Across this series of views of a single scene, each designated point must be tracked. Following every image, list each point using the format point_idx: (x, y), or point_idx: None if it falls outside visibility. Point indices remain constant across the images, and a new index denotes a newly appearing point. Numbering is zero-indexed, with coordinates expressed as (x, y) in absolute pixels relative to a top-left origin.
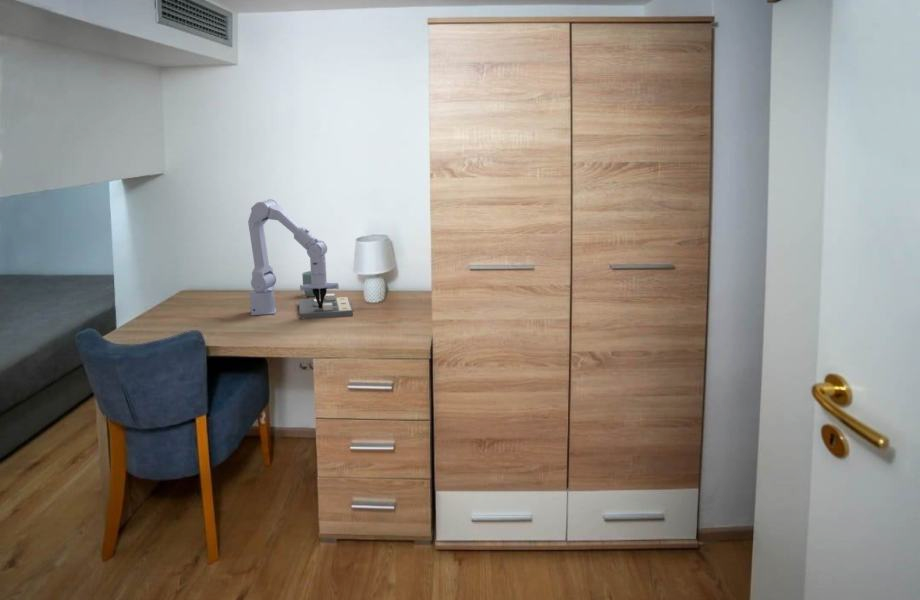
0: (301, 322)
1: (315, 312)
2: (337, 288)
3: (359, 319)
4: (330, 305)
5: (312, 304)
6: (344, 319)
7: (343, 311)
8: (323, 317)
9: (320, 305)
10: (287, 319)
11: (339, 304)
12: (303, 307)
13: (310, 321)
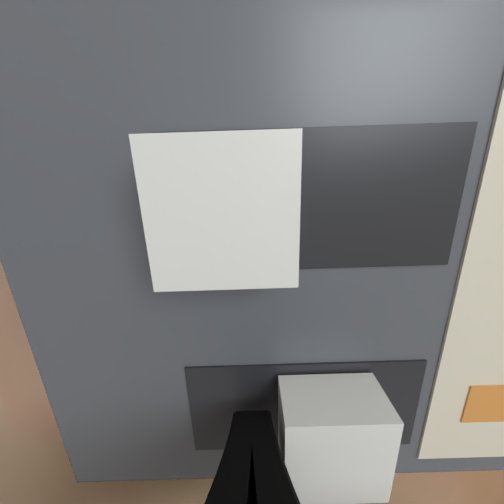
0: (127, 498)
1: (207, 463)
2: None
3: (493, 500)
4: (365, 497)
5: (141, 132)
6: (403, 487)
7: (444, 469)
8: None
9: (254, 498)
10: (8, 426)
11: (489, 231)
12: (52, 272)
13: (183, 489)
